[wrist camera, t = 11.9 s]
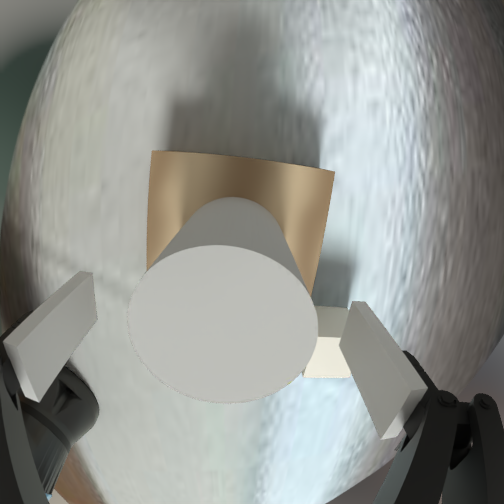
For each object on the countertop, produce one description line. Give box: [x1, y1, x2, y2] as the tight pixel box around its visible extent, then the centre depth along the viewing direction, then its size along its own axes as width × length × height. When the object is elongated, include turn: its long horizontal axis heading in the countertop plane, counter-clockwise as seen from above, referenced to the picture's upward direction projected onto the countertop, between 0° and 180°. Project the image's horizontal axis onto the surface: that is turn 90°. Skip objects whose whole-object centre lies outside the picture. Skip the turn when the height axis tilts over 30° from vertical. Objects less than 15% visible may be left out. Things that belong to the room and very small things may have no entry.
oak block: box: [147, 151, 335, 297], centre depth 26 cm, size 14×14×5 cm
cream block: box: [302, 306, 351, 378], centre depth 29 cm, size 5×5×6 cm
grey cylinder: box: [127, 197, 318, 404], centre depth 18 cm, size 8×8×12 cm
